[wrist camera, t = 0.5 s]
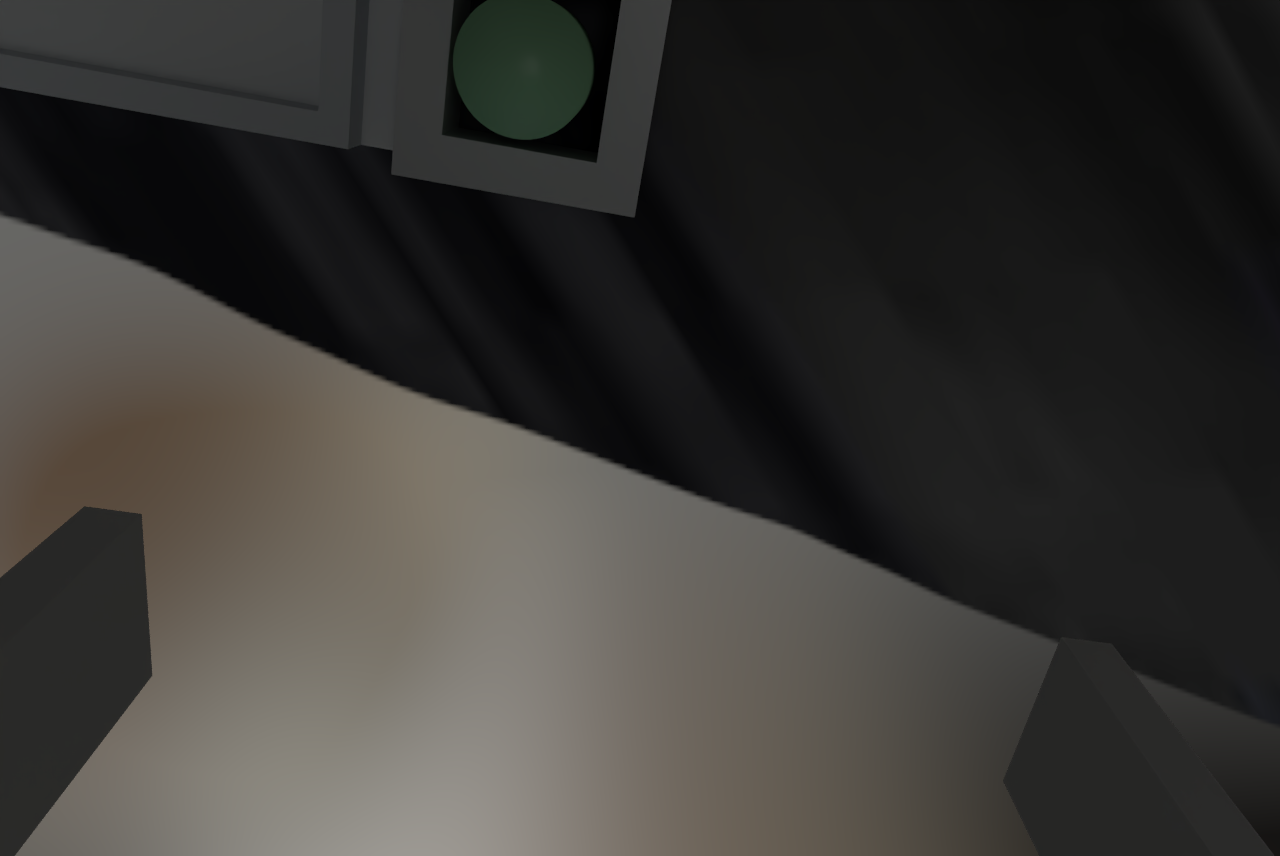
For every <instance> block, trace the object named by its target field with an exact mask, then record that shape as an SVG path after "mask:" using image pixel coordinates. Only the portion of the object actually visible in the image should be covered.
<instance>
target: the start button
mask: <svg viewBox="0 0 1280 856" xmlns="http://www.w3.org/2000/svg"><path fill="white" fill-rule="evenodd" d="M453 71H454V77H455V82H456V86H457V89H458V91H459V94H460V96H461V98H462V100H463V102H464V104H465V105H466V107H467V108H468V110H469V111H470V112H471V113H472V115H473V116H474V117H475V118H476V119H477V120H478V121H479V122H480V123H481V124H483V125H484V126H485V127H487V128H488V129H490V130H492V131H493V132H495V133H497V134H500V135H502V136H505V137H508V138H512V139H520V140H532V139H538V138H542V137H545V136H548V135H550V134H553V133H555V132H557V131H558V130H560V129H561V128H563V127H564V126H565V125H566V124H567V123H569V122H570V121H571V120H572V119H573V118H574V116H575V115H576V114H577V113H578V112H579V111H580V110H581V109H582V108H583V106H584V105H585V103H586V102H587V100H588V98H589V96H590V94H591V91H592V88H593V85H594V80H595V73H596V60H595V53H594V49H593V46H592V42H591V40H590V38H589V35H588V33H587V32H586V30H585V28H584V27H583V25H582V24H581V23H580V21H579V20H578V19H577V18H576V17H575V16H574V15H573V14H572V13H571V12H569V11H568V10H567V9H565V8H564V7H562V6H560V5H559V4H557V3H555V2H553V1H551V0H487V1H485V2H484V3H482V4H481V5H479V6H478V7H477V8H476V9H475V10H474V11H473V12H472V13H471V14H470V15H469V17H468V18H467V19H466V21H465V22H464V24H463V25H462V27H461V29H460V32H459V34H458V36H457V39H456V43H455V47H454V53H453Z"/></svg>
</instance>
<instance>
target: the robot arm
mask: <svg viewBox="0 0 1280 856" xmlns="http://www.w3.org/2000/svg"><path fill="white" fill-rule="evenodd" d="M151 676H152V664H151V649H150V635H149V619H148V604H147V589H146V574H145V559H144V545H143V529H142V515H141V514H136V513H129V512H122V511H114V510H107V509H100V508H92V507H83V508H82V509H81V510H80V511H79V512H77V513H76V514H75V515H74V516H73V517H71V518H70V519H69V520H68V521H67V522H66V523H64V524H63V525H62V526H61V527H60V528H58V529H57V530H56V531H55V532H54V533H53V534H51V535H50V536H49V537H48V538H47V539H45V540H44V541H43V542H42V543H41V544H40V545H38V546H37V547H36V548H35V549H34V550H33V551H31V552H30V553H29V554H28V555H27V556H25V557H24V558H23V559H22V560H21V561H20V562H18V563H17V564H16V565H15V566H14V567H12V568H11V569H10V570H9V571H8V572H7V573H5V574H4V575H3V576H2V577H1V578H0V856H15V855H16V853H17V852H18V851H19V849H20V848H21V847H22V845H23V844H24V843H25V842H26V840H27V839H28V838H29V836H30V835H31V834H32V832H33V831H34V830H35V828H36V827H37V826H38V824H39V823H40V822H41V821H42V819H43V818H44V817H45V815H46V814H47V813H48V811H49V810H50V809H51V807H52V806H53V805H54V803H55V802H56V801H57V800H58V798H59V797H60V796H61V794H62V793H63V792H64V790H65V789H66V788H67V786H68V785H69V784H70V783H71V781H72V780H73V779H74V777H75V776H76V774H77V773H78V772H79V771H80V769H81V768H82V767H83V765H84V764H85V763H86V762H87V760H88V759H89V758H90V756H91V755H92V754H93V752H94V751H95V750H96V748H97V747H98V746H99V745H100V743H101V742H102V741H103V739H104V738H105V737H106V735H107V734H108V733H109V731H110V730H111V729H112V728H113V726H114V725H115V724H116V722H117V721H118V720H119V718H120V717H121V716H122V714H123V713H124V712H125V711H126V709H127V708H128V706H129V705H130V704H131V703H132V701H133V700H134V698H135V697H136V696H137V695H138V693H139V692H140V691H141V690H142V688H143V687H144V686H145V684H146V683H147V682H148V680H149V679H150V678H151ZM1003 782H1004V784H1005V786H1006V788H1007V790H1008V792H1009V794H1010V796H1011V798H1012V800H1013V803H1014V804H1015V807H1016V809H1017V811H1018V813H1019V815H1020V817H1021V819H1022V821H1023V823H1024V825H1025V827H1026V830H1027V831H1028V833H1029V836H1030V838H1031V840H1032V842H1033V844H1034V846H1035V848H1036V850H1037V852H1038V854H1039V856H1274V855H1273V853H1272V852H1271V851H1270V850H1269V848H1268V847H1267V845H1266V844H1265V843H1264V842H1263V840H1262V839H1261V838H1260V836H1259V835H1258V834H1257V832H1256V831H1255V830H1254V829H1253V827H1252V826H1251V825H1250V823H1249V822H1248V821H1247V819H1246V818H1245V817H1244V816H1243V815H1242V813H1241V812H1240V810H1239V809H1238V808H1237V806H1236V805H1235V804H1234V802H1233V801H1232V800H1231V799H1230V797H1229V796H1228V795H1227V793H1226V792H1225V791H1224V789H1223V788H1222V787H1221V786H1220V784H1219V783H1218V782H1217V780H1216V779H1215V778H1214V777H1213V775H1212V774H1211V773H1210V772H1209V770H1208V769H1207V767H1206V766H1205V765H1204V764H1203V762H1202V761H1201V760H1200V758H1199V757H1198V756H1197V754H1196V753H1195V752H1194V750H1193V749H1192V748H1191V747H1190V745H1189V744H1188V743H1187V741H1186V740H1185V739H1184V738H1183V736H1182V735H1181V734H1180V732H1179V731H1178V730H1177V728H1176V727H1175V726H1174V724H1173V723H1172V722H1171V721H1170V719H1169V718H1168V717H1167V715H1166V714H1165V713H1164V712H1163V710H1162V709H1161V708H1160V706H1159V705H1158V704H1157V703H1156V701H1155V700H1154V698H1153V697H1152V696H1151V694H1150V693H1149V692H1148V691H1147V689H1146V688H1145V687H1144V685H1143V684H1142V683H1141V682H1140V680H1139V679H1138V678H1137V676H1136V675H1135V674H1134V672H1133V671H1132V670H1131V668H1130V667H1129V666H1128V665H1127V663H1126V662H1125V661H1124V659H1123V658H1122V657H1121V655H1120V654H1119V653H1118V652H1117V650H1116V649H1115V648H1114V646H1113V645H1112V644H1109V643H1101V642H1094V641H1086V640H1079V639H1071V638H1064V637H1061V639H1060V641H1059V644H1058V646H1057V649H1056V651H1055V654H1054V656H1053V659H1052V661H1051V664H1050V666H1049V669H1048V671H1047V674H1046V676H1045V678H1044V681H1043V683H1042V686H1041V688H1040V691H1039V693H1038V696H1037V698H1036V701H1035V703H1034V706H1033V708H1032V711H1031V713H1030V715H1029V718H1028V720H1027V723H1026V725H1025V728H1024V730H1023V733H1022V735H1021V738H1020V740H1019V743H1018V745H1017V748H1016V750H1015V753H1014V755H1013V758H1012V760H1011V762H1010V765H1009V767H1008V770H1007V773H1006V775H1005V777H1004V780H1003Z"/></svg>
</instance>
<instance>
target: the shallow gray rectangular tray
mask: <svg viewBox="0 0 1280 856" xmlns="http://www.w3.org/2000/svg"><path fill="white" fill-rule="evenodd" d="M402 14H403V0H0V87H3V88H9V89H14V90H20V91H26V92H31V93H37V94H42V95H48V96H54V97H59V98H65V99H70V100H76V101H82V102H87V103H93V104H98V105H104V106H110V107H115V108H121V109H126V110H132V111H137V112H143V113H149V114H154V115H160V116H165V117H171V118H177V119H182V120H188V121H193V122H199V123H205V124H210V125H216V126H221V127H227V128H232V129H238V130H244V131H249V132H255V133H260V134H266V135H272V136H277V137H283V138H288V139H294V140H300V141H305V142H311V143H316V144H322V145H328V146H333V147H339V148H344V149H350V148H353V147H356V146H359V145H366V146H371V147H377V148H383V149H388V150H393V142H394V128H395V113H396V99H397V85H398V71H399V56H400V42H401V28H402Z"/></svg>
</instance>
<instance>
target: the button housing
mask: <svg viewBox="0 0 1280 856" xmlns="http://www.w3.org/2000/svg"><path fill="white" fill-rule="evenodd" d="M671 1H672V0H621V6H620V13H619V19H618V26H617V32H616V39H615V45H614V52H613V59H612V65H611V72H610V78H609V85H608V91H607V98H606V104H605V111H604V118H603V124H602V131H601V137H600V144H599V150H598V153H597V152H591V151H586V150H580V149H575V148H569V147H564V146H558V145H553V144H547V143H542V142H536V141H531V140H520V139H512V138H508V137H505V136H502V135H498V134H492V133H487V132H481V131H476V130H470V129H465V128H459V120H460V109H461V99H462V98H461V96H460V94H459V91H458V89H457V86H456V82H455V77H454V71H453V53H454V47H455V43H456V39H457V36H458V34H459V32H460V29H461V27H462V25H463V24H464V22H465V21H466V19H467V18H468V17H469V15H470V5H471V0H403V14H402V28H401V42H400V56H399V71H398V85H397V99H396V113H395V128H394V142H393V156H392V170H391V174H392V175H398V176H404V177H409V178H415V179H421V180H426V181H432V182H438V183H443V184H449V185H454V186H460V187H466V188H471V189H477V190H483V191H488V192H494V193H499V194H505V195H511V196H516V197H522V198H528V199H533V200H539V201H545V202H550V203H556V204H561V205H567V206H573V207H578V208H584V209H590V210H595V211H601V212H606V213H612V214H618V215H623V216H629V217H635V211H636V205H637V200H638V194H639V188H640V182H641V176H642V170H643V165H644V159H645V153H646V147H647V141H648V135H649V130H650V124H651V118H652V112H653V106H654V100H655V95H656V89H657V83H658V77H659V71H660V65H661V60H662V54H663V48H664V42H665V36H666V30H667V25H668V19H669V13H670V7H671Z"/></svg>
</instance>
